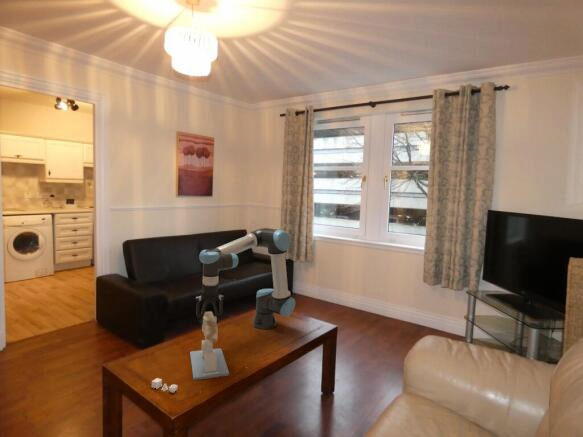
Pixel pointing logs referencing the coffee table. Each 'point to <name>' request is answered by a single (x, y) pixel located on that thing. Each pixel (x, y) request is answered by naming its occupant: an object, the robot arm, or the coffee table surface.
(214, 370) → the blueprint board
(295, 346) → the coffee table surface
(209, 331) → the maple beam
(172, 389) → the game pieces
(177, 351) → the coffee table surface
